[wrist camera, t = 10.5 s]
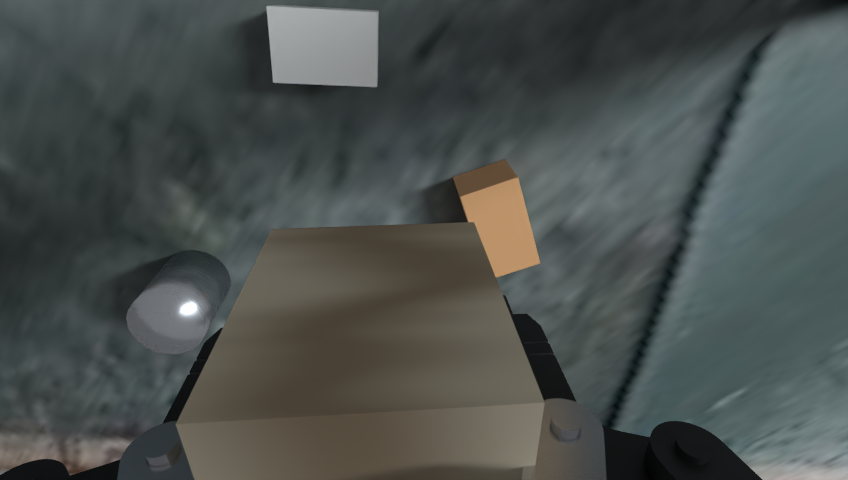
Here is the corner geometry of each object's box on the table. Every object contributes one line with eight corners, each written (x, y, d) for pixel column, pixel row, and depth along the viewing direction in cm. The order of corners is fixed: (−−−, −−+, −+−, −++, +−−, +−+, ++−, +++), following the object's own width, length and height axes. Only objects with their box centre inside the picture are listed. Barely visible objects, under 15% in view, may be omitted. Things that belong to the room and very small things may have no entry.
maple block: (474, 222, 12) (544, 402, 7) (466, 373, 14) (515, 599, 9) (271, 228, 12) (176, 424, 6) (297, 383, 14) (242, 622, 9)
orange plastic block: (504, 158, 35) (518, 176, 31) (525, 238, 38) (540, 263, 35) (452, 176, 35) (460, 196, 32) (477, 254, 38) (487, 280, 35)
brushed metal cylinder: (223, 248, 36) (196, 291, 31) (235, 303, 39) (212, 352, 33) (156, 251, 36) (116, 295, 31) (172, 306, 38) (138, 356, 33)
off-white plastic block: (378, 10, 30) (377, 12, 26) (378, 76, 32) (377, 87, 28) (280, 4, 29) (266, 5, 26) (285, 72, 31) (273, 82, 28)
